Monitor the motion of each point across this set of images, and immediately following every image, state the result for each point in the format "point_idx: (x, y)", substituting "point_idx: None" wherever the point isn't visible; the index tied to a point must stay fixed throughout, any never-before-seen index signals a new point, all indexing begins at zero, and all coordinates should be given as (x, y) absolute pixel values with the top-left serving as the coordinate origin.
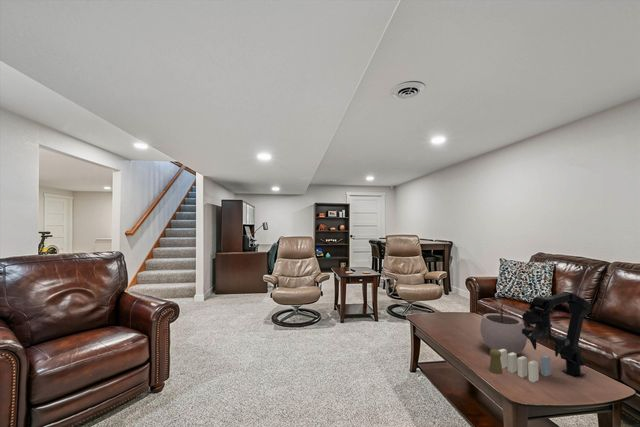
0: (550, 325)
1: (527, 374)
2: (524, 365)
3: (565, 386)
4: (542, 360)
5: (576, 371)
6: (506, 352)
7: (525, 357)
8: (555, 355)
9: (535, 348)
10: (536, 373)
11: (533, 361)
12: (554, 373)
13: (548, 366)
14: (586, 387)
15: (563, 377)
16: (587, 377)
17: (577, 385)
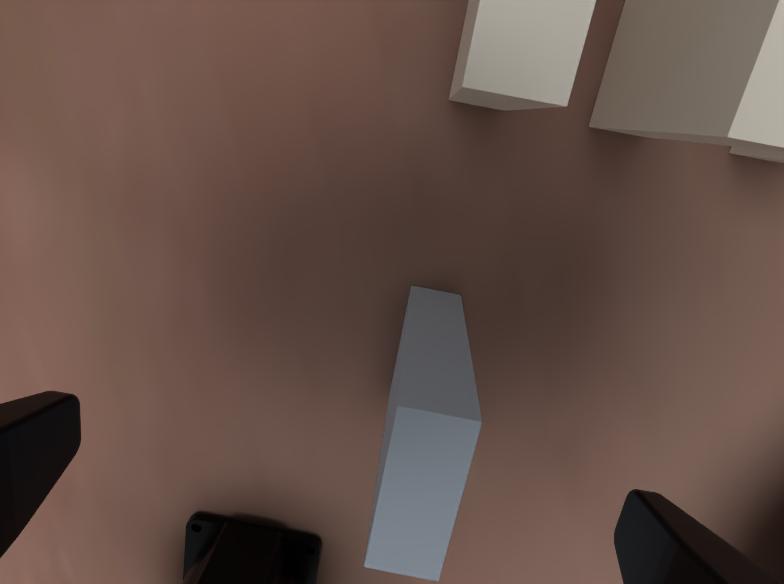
0: None
1: (592, 124)
2: (688, 21)
3: (195, 199)
4: (446, 385)
5: (192, 576)
6: None
7: (760, 118)
8: (50, 403)
9: (636, 533)
10: (465, 27)
11: (550, 6)
12: (370, 445)
13: (389, 409)
14: (76, 358)
15: (282, 417)
16: (155, 578)
17: (137, 334)
